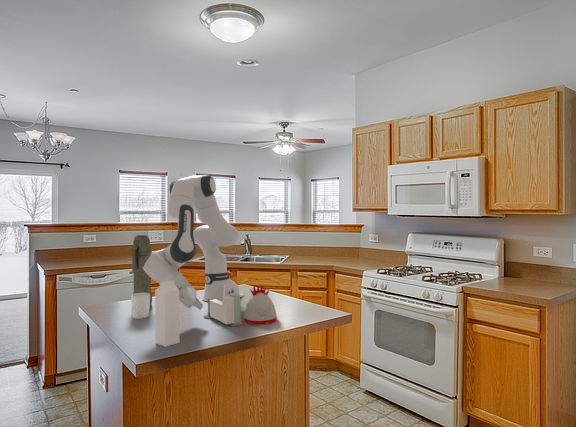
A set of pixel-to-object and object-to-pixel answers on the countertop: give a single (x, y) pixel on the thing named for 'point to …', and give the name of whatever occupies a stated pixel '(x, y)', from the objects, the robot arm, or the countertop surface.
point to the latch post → (236, 310)
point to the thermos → (138, 255)
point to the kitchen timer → (260, 308)
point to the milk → (167, 314)
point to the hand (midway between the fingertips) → (201, 307)
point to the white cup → (140, 305)
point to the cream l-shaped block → (223, 309)
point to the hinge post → (208, 310)
